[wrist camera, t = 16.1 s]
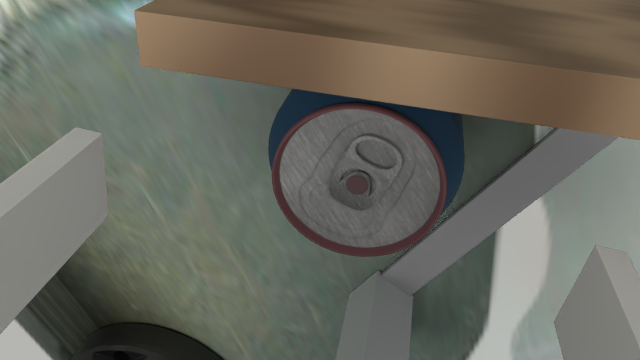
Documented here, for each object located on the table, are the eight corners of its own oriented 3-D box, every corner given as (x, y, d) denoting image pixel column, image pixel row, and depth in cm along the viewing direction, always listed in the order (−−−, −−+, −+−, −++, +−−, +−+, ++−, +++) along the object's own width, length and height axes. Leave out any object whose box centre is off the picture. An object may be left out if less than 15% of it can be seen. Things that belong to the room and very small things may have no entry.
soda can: (411, 148, 30) (395, 300, 20) (300, 88, 29) (224, 213, 19) (486, 39, 26) (514, 157, 16) (360, -32, 25) (305, 44, 15)
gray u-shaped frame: (383, 318, 37) (355, 538, 25) (349, 294, 36) (304, 507, 24) (849, -36, 22) (1328, 96, 10) (802, -87, 21) (1251, -10, 9)
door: (258, -18, 26) (140, 66, 16) (259, -87, 24) (128, -43, 14) (739, 42, 23) (967, 189, 13) (776, -31, 22) (1068, 71, 12)
